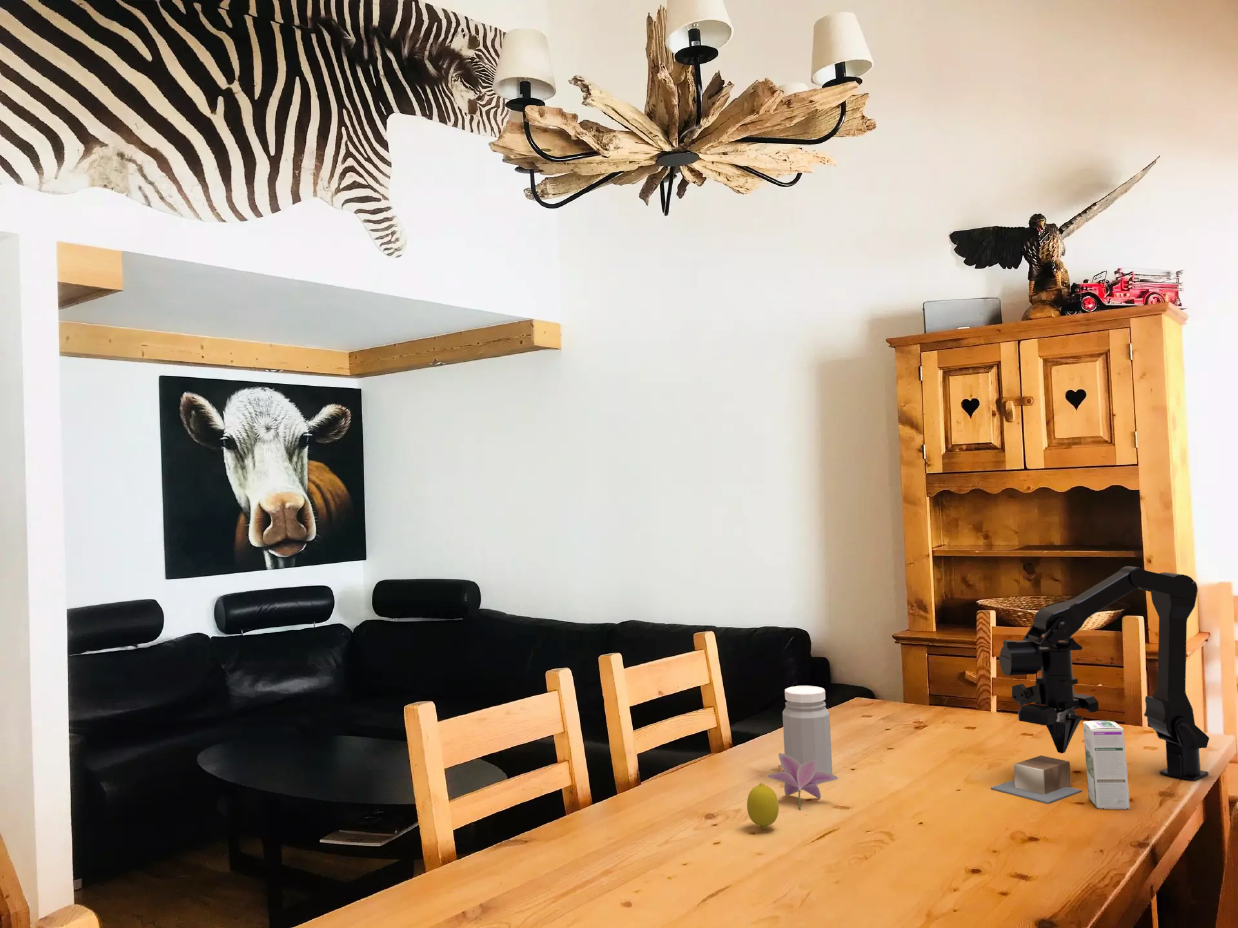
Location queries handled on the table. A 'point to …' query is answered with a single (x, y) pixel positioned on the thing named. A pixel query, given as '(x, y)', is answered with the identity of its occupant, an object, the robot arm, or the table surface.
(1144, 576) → the robot arm
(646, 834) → the table surface
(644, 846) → the table surface
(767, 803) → the lemon
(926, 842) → the table surface
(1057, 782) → the walnut block
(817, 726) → the jar
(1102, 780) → the syrup box
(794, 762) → the lily
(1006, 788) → the rubber mat
